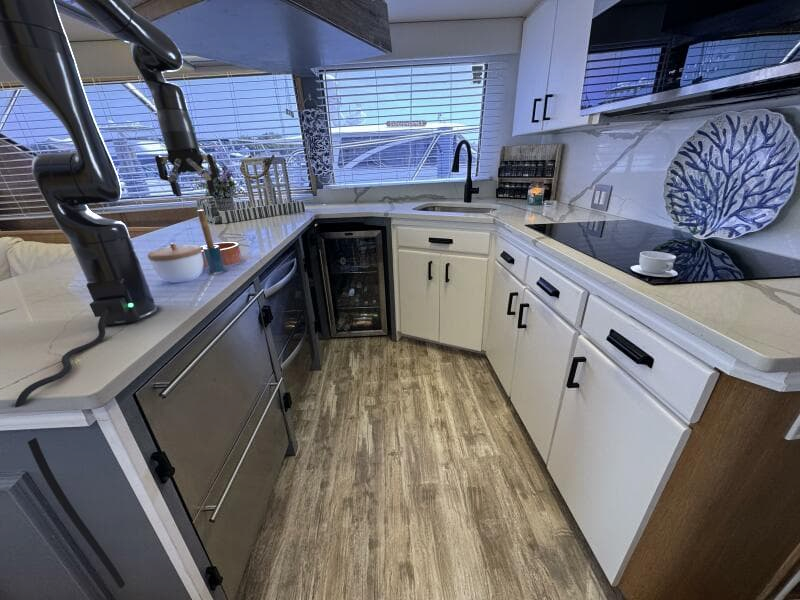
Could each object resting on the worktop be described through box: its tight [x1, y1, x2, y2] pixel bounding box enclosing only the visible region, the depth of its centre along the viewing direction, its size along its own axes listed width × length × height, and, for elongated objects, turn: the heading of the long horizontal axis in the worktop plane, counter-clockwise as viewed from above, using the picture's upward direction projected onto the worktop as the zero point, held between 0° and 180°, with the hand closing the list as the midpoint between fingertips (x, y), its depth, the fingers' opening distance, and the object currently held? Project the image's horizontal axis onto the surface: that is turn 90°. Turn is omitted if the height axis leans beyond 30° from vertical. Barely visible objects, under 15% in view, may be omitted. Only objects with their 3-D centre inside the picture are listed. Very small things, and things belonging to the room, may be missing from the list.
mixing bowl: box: [200, 241, 243, 268], centre depth 107 cm, size 12×12×6 cm
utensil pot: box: [203, 245, 226, 273], centre depth 98 cm, size 4×4×8 cm
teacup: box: [630, 251, 679, 278], centre depth 83 cm, size 10×10×5 cm
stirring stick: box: [196, 209, 215, 248], centre depth 96 cm, size 2×2×18 cm
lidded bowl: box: [147, 242, 205, 284], centre depth 91 cm, size 13×13×11 cm
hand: (196, 195), depth 90 cm, fingers open, 8 cm apart
